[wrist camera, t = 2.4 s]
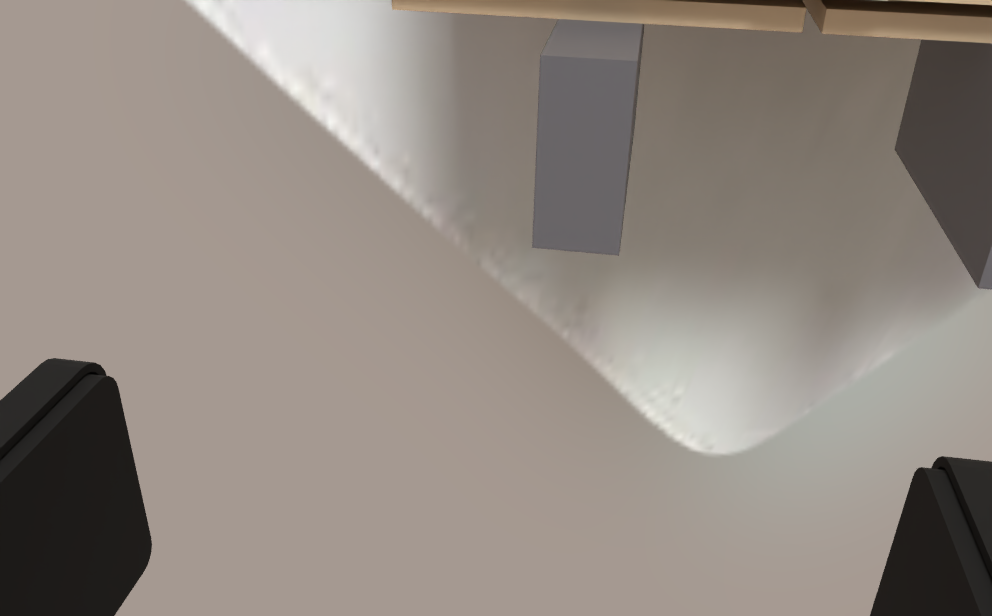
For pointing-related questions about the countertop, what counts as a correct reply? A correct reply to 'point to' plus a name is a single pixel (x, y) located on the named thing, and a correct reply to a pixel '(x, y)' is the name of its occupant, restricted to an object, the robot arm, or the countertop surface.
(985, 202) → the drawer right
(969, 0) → the carton
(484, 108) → the countertop surface
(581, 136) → the flap left
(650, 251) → the countertop surface
